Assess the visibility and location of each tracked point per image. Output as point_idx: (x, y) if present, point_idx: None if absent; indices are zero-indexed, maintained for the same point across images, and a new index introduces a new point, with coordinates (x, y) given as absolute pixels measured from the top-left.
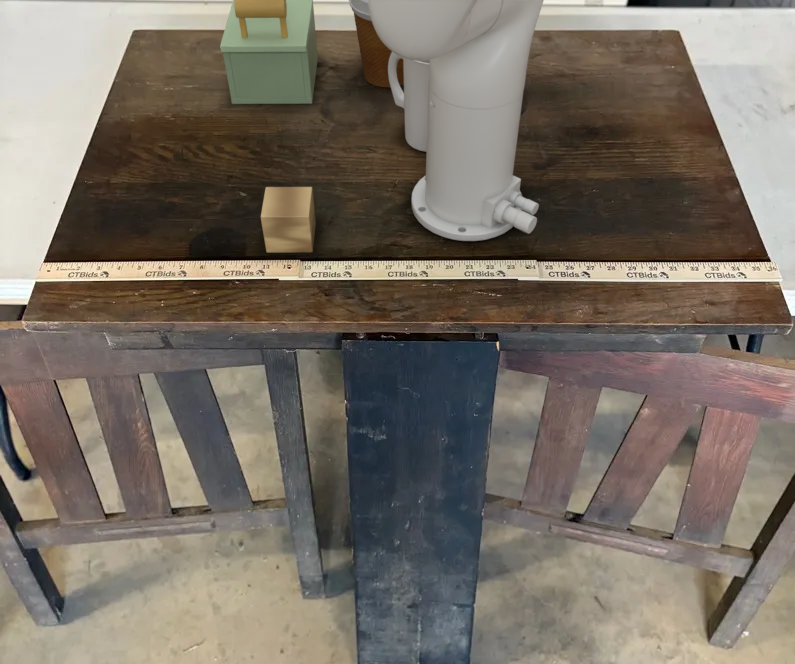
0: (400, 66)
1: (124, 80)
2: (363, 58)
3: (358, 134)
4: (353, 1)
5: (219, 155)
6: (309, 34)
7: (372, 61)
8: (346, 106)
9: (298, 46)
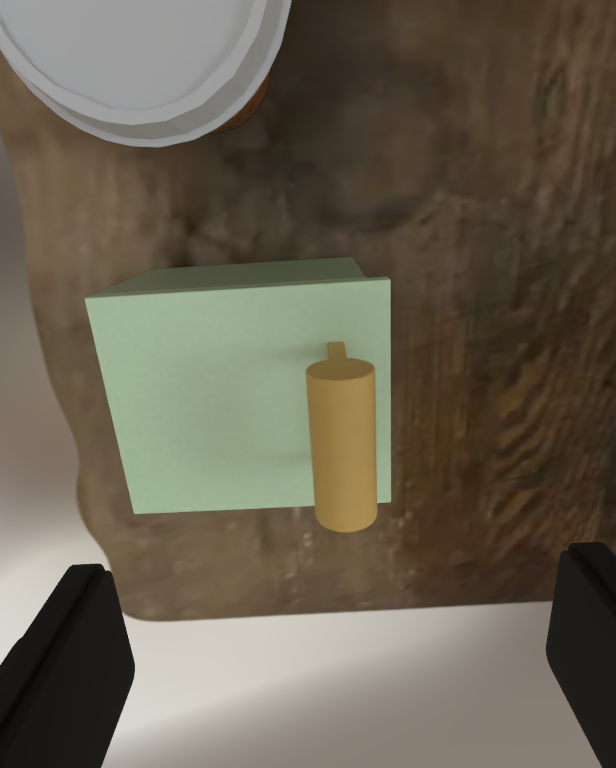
0: None
1: (283, 610)
2: (237, 119)
3: (483, 122)
4: (203, 117)
5: (533, 415)
6: (269, 282)
7: (264, 84)
8: (361, 168)
9: (390, 301)
